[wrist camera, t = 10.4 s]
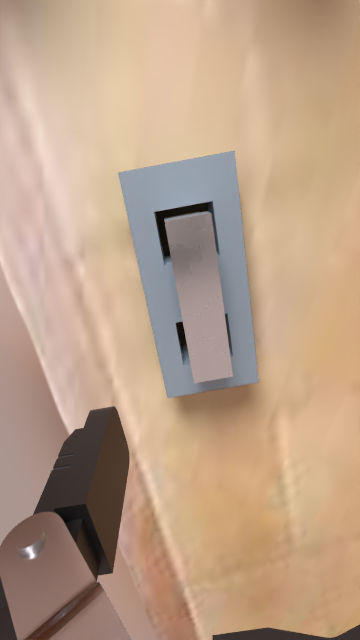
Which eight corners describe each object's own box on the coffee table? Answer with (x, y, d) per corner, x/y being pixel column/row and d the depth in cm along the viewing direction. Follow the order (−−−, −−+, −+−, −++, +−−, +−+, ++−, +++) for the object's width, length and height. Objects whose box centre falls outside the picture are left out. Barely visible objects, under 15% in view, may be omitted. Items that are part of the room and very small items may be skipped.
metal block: (198, 207, 24) (211, 212, 18) (216, 333, 28) (233, 376, 21) (164, 213, 24) (164, 221, 18) (186, 338, 28) (193, 383, 21)
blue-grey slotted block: (224, 156, 23) (234, 150, 20) (247, 360, 29) (258, 382, 26) (124, 175, 23) (118, 172, 20) (167, 374, 29) (167, 398, 26)
